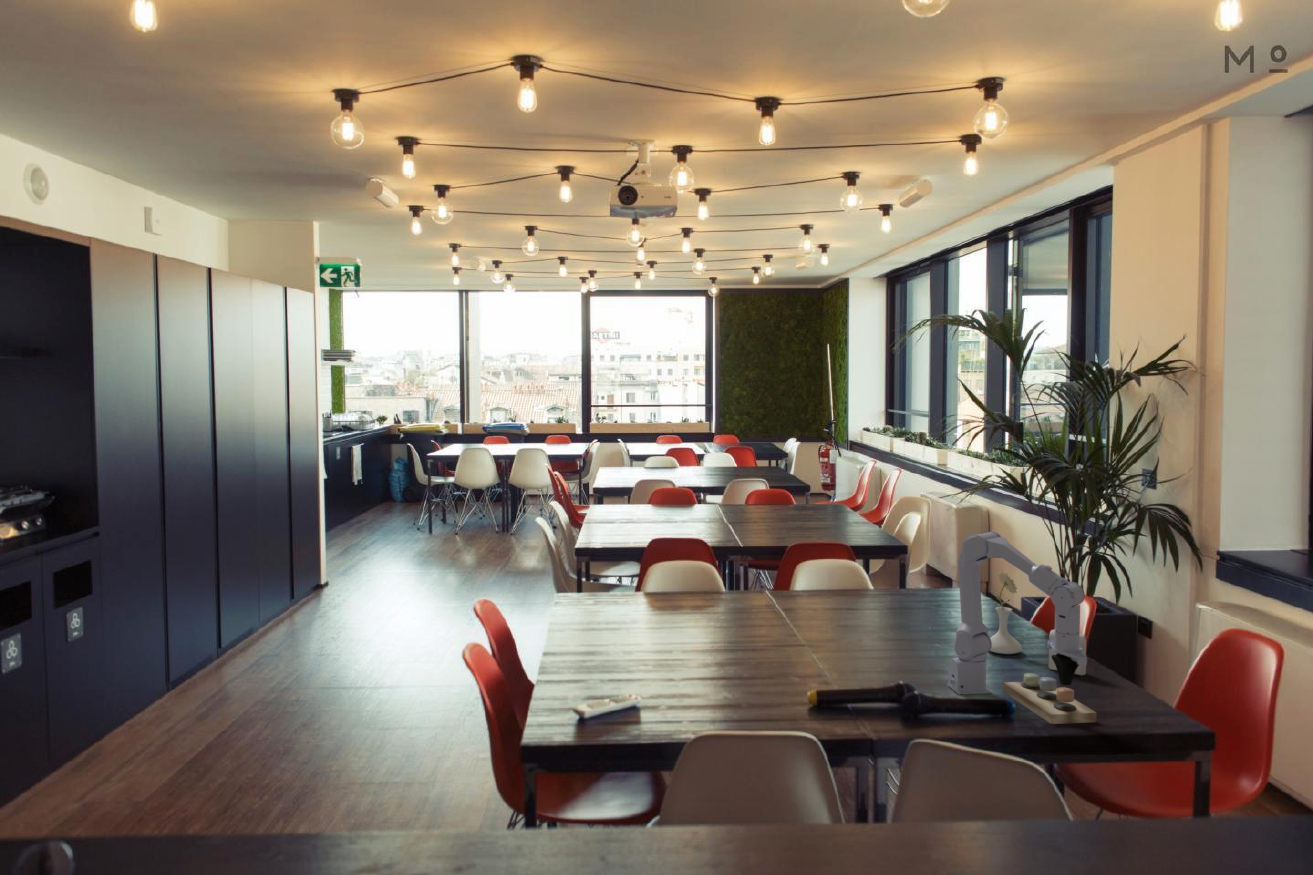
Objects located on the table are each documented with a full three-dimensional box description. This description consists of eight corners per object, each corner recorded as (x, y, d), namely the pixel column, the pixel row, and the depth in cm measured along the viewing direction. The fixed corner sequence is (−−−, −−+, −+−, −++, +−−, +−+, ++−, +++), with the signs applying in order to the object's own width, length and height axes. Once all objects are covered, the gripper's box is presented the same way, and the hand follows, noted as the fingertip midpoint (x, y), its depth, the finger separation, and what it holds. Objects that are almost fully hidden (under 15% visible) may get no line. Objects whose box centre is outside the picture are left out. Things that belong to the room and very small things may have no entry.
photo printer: (1046, 669, 263) (1047, 628, 262) (1051, 665, 266) (1052, 625, 265) (1082, 677, 256) (1084, 634, 255) (1087, 673, 259) (1088, 631, 258)
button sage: (1028, 686, 238) (1028, 678, 238) (1020, 681, 242) (1021, 673, 242) (1042, 686, 239) (1042, 677, 238) (1034, 681, 243) (1034, 672, 242)
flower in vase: (1025, 658, 273) (1027, 578, 272) (986, 656, 275) (988, 576, 274) (1017, 646, 286) (1019, 569, 284) (980, 644, 288) (981, 568, 287)
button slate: (1044, 691, 230) (1045, 682, 230) (1036, 686, 234) (1036, 677, 234) (1059, 690, 231) (1059, 681, 230) (1050, 685, 235) (1051, 676, 234)
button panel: (1050, 723, 220) (1051, 712, 220) (1003, 690, 244) (1003, 680, 244) (1096, 722, 221) (1096, 711, 221) (1044, 689, 245) (1044, 679, 245)
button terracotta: (1062, 702, 222) (1062, 692, 222) (1053, 696, 226) (1053, 687, 226) (1077, 701, 223) (1077, 692, 222) (1068, 696, 227) (1068, 687, 226)
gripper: (1099, 639, 217) (1097, 693, 217) (1065, 623, 231) (1064, 674, 232) (1072, 639, 216) (1070, 694, 217) (1040, 624, 230) (1038, 675, 231)
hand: (1065, 684), depth 224 cm, fingers closed
